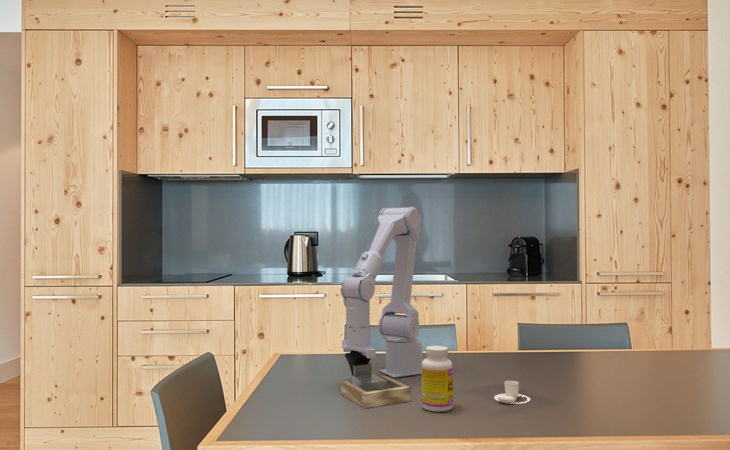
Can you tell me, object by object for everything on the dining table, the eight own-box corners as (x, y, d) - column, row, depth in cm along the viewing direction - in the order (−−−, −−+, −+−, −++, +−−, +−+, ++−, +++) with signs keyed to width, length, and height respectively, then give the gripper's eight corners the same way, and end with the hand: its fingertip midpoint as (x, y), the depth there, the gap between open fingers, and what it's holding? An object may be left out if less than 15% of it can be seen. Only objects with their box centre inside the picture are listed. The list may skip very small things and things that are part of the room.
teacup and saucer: (507, 408, 125) (507, 389, 125) (483, 399, 132) (483, 381, 132) (538, 402, 129) (538, 384, 129) (513, 393, 136) (513, 376, 136)
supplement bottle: (452, 413, 121) (451, 351, 121) (420, 412, 122) (419, 350, 122) (454, 404, 128) (453, 345, 128) (423, 402, 129) (422, 344, 129)
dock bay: (384, 387, 141) (384, 375, 141) (410, 400, 130) (410, 387, 130) (341, 394, 136) (341, 381, 136) (364, 408, 125) (364, 394, 125)
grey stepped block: (351, 391, 138) (351, 365, 138) (372, 388, 140) (372, 362, 140) (366, 400, 131) (366, 372, 131) (388, 397, 133) (388, 370, 133)
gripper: (330, 323, 146) (331, 377, 146) (356, 332, 133) (356, 392, 133) (356, 321, 149) (356, 374, 149) (383, 329, 136) (384, 388, 136)
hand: (358, 382), depth 141 cm, fingers closed
